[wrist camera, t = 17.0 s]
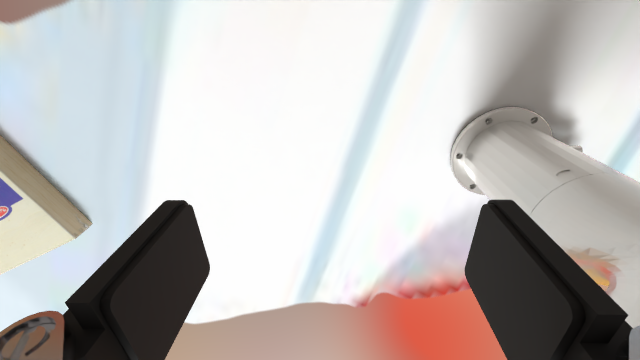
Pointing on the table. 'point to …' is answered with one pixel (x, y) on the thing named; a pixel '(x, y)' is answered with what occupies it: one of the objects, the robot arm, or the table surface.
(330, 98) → the table surface
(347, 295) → the table surface
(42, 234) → the puzzle box
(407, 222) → the table surface
